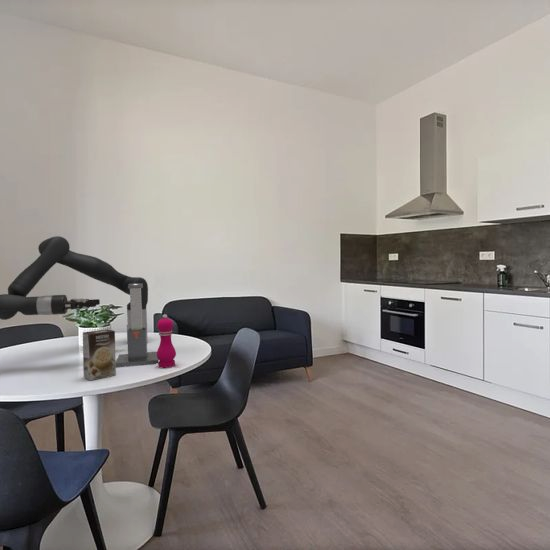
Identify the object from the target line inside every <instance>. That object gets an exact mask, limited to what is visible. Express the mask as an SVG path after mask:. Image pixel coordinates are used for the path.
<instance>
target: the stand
mask: <svg viewBox="0 0 550 550" xmlns="http://www.w3.org/2000/svg"><path fill="white" fill-rule="evenodd" d="M126 338H127V341H128V343H127V353H125V354H123V353H122V354H119V355H118V356H117V358H116V368H122V367H123V368H124V367H125V366H126V367H134V366H135V367H136V366H147V365H148V364H149V365H157V364H156V363H158V362H159V359H158V358H157V351H150V352H149V351H148V342H147V340H148V331H147V332H146V327H145V328H143V329H142V330H132V331H131V328H130V329H128V331H127V330H126ZM127 341H126V342H127Z"/></svg>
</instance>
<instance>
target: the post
mask: <svg viewBox="0 0 550 550" xmlns="http://www.w3.org/2000/svg"><path fill="white" fill-rule="evenodd" d="M128 288H130V295H129V296H130V298H129V300H130V302H129V303H130V305H131V331H132V330H142V329H143V326H142V303H141V288H143V284H128Z"/></svg>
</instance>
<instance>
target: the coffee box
mask: <svg viewBox="0 0 550 550" xmlns="http://www.w3.org/2000/svg"><path fill="white" fill-rule="evenodd" d="M82 360H83V361H82V362H83V363H82V364H83V366H82V367H83V370H82V371H83V378H84V377H85V378H84V379H86V378H87V379H86V380H88V379H89V380H88V381H94V379H95V380H99V379H98V378H100V379H103V377H105V378H108V376H109V377H113V375H114V376H116V375H117V367H116V360H117V358H116V330H113V329H100V330H99V329H98V330H92V331H83V332H82Z"/></svg>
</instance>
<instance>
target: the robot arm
mask: <svg viewBox="0 0 550 550" xmlns="http://www.w3.org/2000/svg"><path fill="white" fill-rule="evenodd" d="M37 248H38V252H39V256H38V257H37V258H36V259H35V260H34V261H33V262H32V263H30V264H29V265H28V266H27V267H25V268H24V270H22V271H21V272H20V273H19V274H18V275H17V276H16V278H14V280H13V281H12V282H11V283H10V284H9V285H8V287H7V293H3V294H0V320H3V321H4V320H5V321H7V320H10V319H11V318H13V317H15V316H16V315H17V313H18V312H19V313H20V314H22V315H24V316H38V315H39V316H40V315H41V316H51V315H66V314H67V313H68V310H81V309H85V308H95V307H97V306H98V305H100V303H101V302H100V301H101V299H98V298H97V299H96V298H94V299H93V298H92V299H89V298H71V299H70V300H68V297H67V295H66V294H51V295H49V294H47V295H41V296H40V295H39V296H28V295H29V293H30V292H31V291H32V290H33V289H34V288H35V287H36V285H37V284H38V283H39V282H40V280H41V279H42V278H43V277H44V276H45V275H46V274H47V273H48V272H49V271H50V270H51V268H52V267H54V266H55V265H56V264H59V265H62V266H65V267H68V268H71V269H72V270H75V271H76V272H78V273H81V274H84V275H85V276H87V277H90V278H92V279H94V280H97V282H101V283H104V284H106V285H109V286H112V287H115V288H116V289H117V290H120V291H121V292H123V293H125V294H127V295H128V296H130V288H128V284H143V288H141V303H142V326H143V328H145V327H146V332H147V333H148V317H147V314H148V313H147V305H148V302H149V301H148V300H149V286H148V281H147V280H146V279H145V278H144V277H138V276H137V277H133V276H129V275H127V274H123V273H121V272H119V271H118V270H117V269H115V267H113V265H111V264H110V263H108V262H107V261H104V260H102V259H100V258H98V257H96V256H92V255H87V254H85V253H84V254H82V253H79V252H75V251H72V250H70V242H69V241H68V240H67V239H66V238H65V237H62V236H59V235H58V236H56V235H55V236H51V237H49V238H47V239H45V240H43V241H41V242H40V243H39V245H38V247H37ZM126 314H127V315H126V316H127V324H126V332H127V331H128V329H130V328H131V305H130V302H129V303H127V305H126ZM126 342H127V344H128V341H126ZM147 343H148V339H147Z"/></svg>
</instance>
